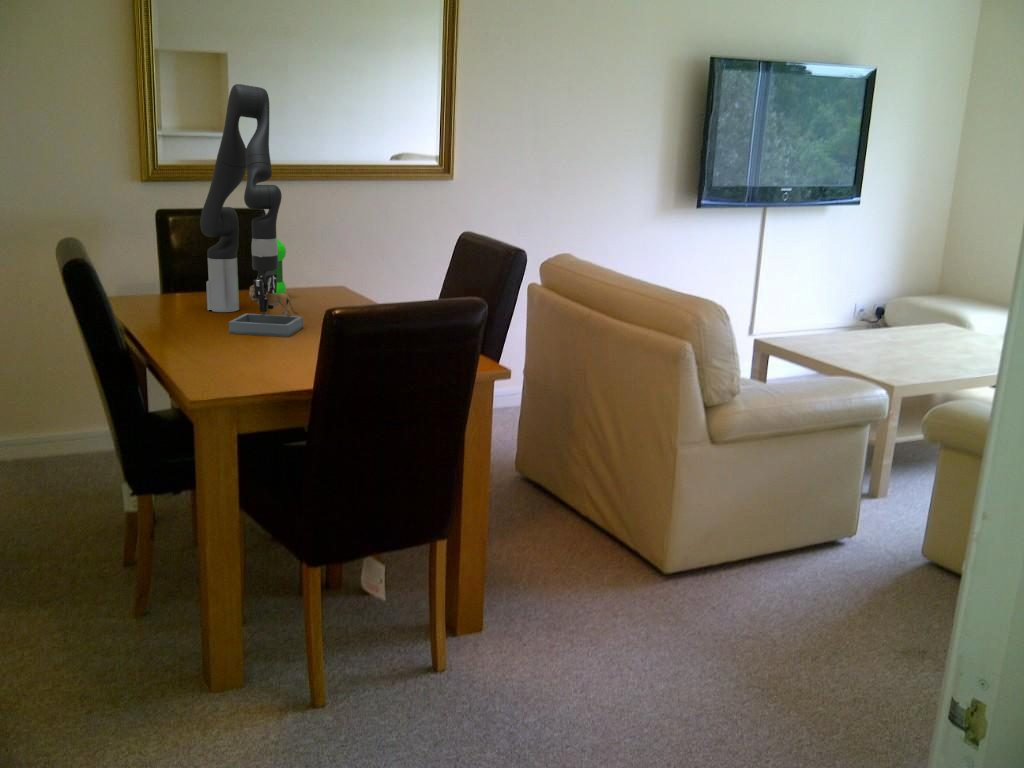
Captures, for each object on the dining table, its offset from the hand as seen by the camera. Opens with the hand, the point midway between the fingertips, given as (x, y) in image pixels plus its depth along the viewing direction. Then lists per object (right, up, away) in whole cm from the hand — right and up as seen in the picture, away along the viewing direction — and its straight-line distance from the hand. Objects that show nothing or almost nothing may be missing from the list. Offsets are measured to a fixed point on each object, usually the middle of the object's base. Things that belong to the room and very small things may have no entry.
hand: (266, 310), depth 310 cm
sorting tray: (0, -6, +2) cm, 6 cm away
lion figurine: (+2, -2, 0) cm, 2 cm away
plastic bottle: (-10, +7, +50) cm, 51 cm away
